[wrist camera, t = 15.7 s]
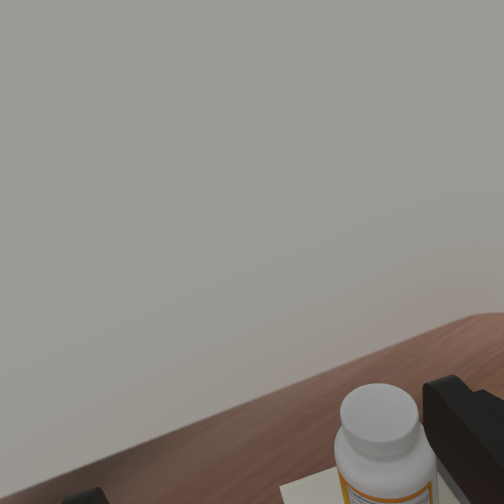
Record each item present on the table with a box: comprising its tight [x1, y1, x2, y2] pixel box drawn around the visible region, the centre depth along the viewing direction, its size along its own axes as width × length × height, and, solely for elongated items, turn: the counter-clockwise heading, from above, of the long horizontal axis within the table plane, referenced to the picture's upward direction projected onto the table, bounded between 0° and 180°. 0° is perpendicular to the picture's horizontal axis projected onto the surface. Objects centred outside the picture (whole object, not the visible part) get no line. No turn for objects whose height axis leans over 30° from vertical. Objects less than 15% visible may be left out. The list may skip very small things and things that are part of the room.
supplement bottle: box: [334, 383, 439, 504], centre depth 25 cm, size 5×5×10 cm
